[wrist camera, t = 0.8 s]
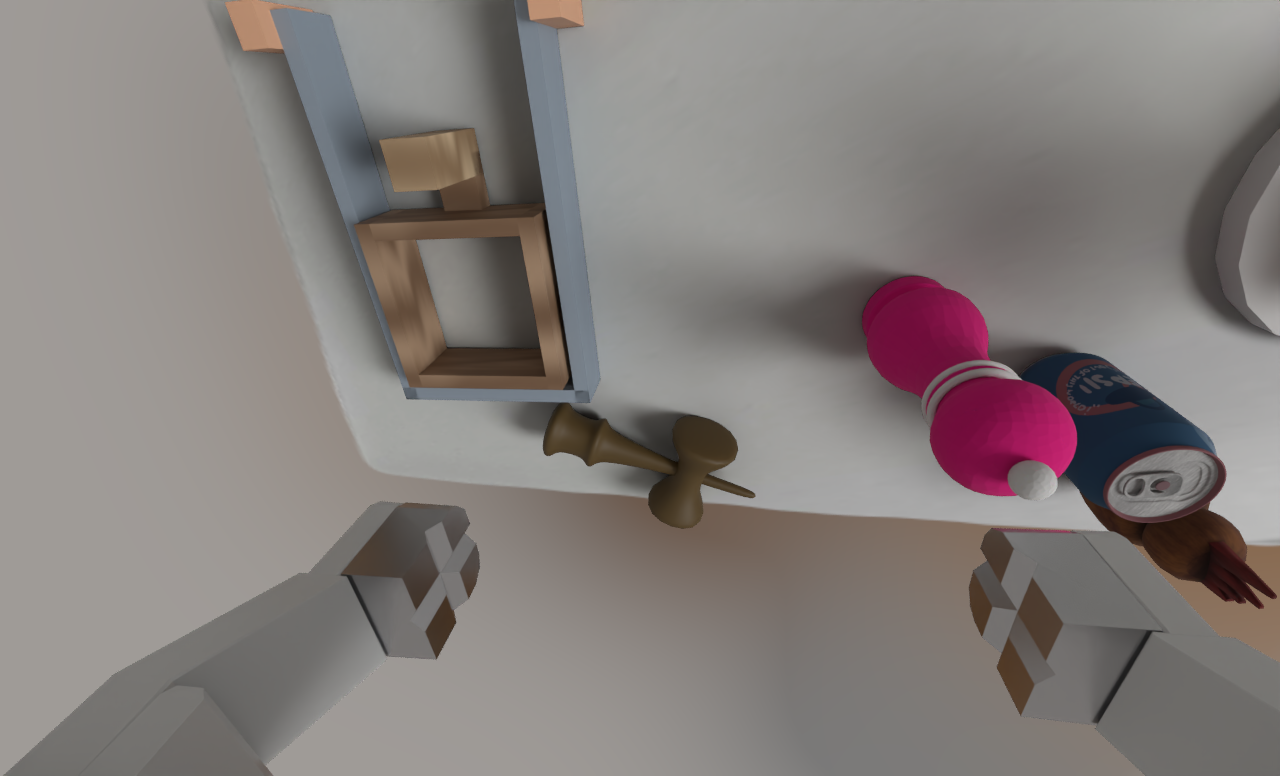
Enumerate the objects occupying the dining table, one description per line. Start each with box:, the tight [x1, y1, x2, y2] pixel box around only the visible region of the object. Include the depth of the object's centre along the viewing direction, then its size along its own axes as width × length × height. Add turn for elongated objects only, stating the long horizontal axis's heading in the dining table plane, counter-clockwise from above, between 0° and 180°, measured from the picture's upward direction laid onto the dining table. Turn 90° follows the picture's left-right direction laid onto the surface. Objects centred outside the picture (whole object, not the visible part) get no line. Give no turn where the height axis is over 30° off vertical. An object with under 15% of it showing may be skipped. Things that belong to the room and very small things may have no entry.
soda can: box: [1019, 353, 1226, 523], centre depth 35 cm, size 7×7×12 cm
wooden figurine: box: [1080, 492, 1277, 609], centre depth 36 cm, size 7×6×15 cm
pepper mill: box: [862, 276, 1077, 501], centre depth 30 cm, size 7×7×20 cm
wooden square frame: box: [354, 128, 572, 390], centre depth 38 cm, size 19×13×7 cm
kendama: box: [543, 402, 755, 529], centre depth 47 cm, size 6×10×20 cm
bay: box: [225, 0, 600, 403], centre depth 38 cm, size 28×20×5 cm
